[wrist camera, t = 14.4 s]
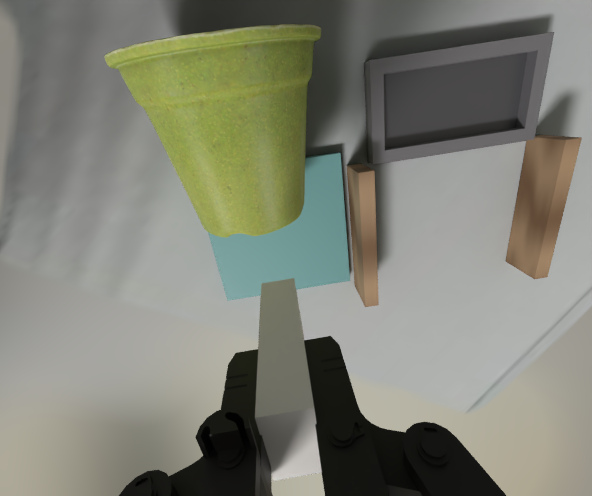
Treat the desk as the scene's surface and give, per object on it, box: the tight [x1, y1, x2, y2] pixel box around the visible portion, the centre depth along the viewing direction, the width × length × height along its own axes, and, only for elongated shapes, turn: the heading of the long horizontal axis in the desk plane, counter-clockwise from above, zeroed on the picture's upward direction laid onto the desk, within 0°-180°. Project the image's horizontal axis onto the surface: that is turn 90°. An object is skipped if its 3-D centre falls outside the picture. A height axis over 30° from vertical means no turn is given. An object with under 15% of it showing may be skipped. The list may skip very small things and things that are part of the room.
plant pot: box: [104, 24, 321, 238], centre depth 16 cm, size 9×9×9 cm
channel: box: [347, 135, 582, 307], centre depth 22 cm, size 10×14×3 cm
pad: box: [208, 152, 350, 300], centre depth 22 cm, size 10×10×1 cm
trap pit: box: [364, 32, 554, 165], centre depth 19 cm, size 6×11×1 cm, turn 98°
